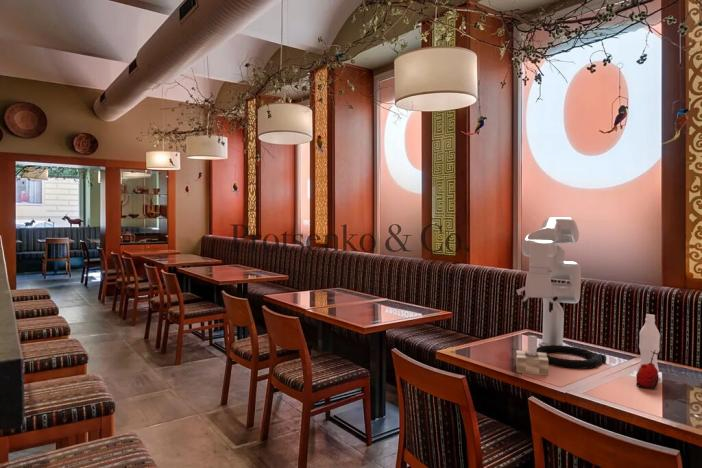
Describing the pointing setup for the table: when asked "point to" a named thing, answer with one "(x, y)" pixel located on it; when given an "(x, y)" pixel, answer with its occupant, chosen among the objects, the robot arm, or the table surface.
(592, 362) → the cable lock
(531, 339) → the peg
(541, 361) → the cream rectangular block
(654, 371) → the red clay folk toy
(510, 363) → the table surface
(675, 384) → the table surface
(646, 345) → the water bottle
